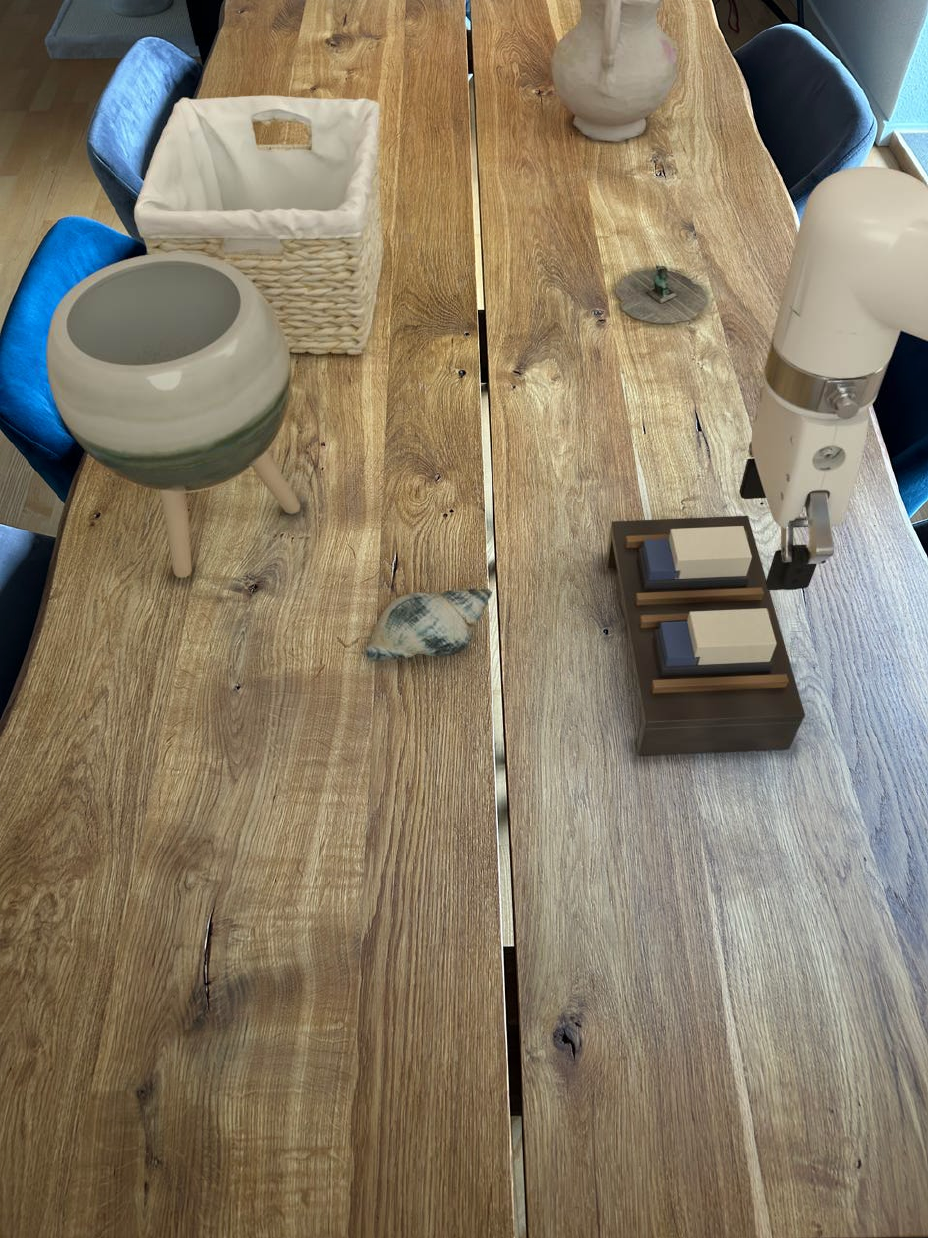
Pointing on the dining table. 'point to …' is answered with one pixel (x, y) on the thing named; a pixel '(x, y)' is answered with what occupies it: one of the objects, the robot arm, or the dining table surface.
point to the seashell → (427, 624)
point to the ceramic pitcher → (614, 68)
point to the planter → (173, 379)
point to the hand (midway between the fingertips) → (771, 539)
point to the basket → (277, 208)
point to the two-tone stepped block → (696, 559)
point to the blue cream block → (716, 643)
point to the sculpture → (660, 296)
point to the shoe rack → (712, 703)
